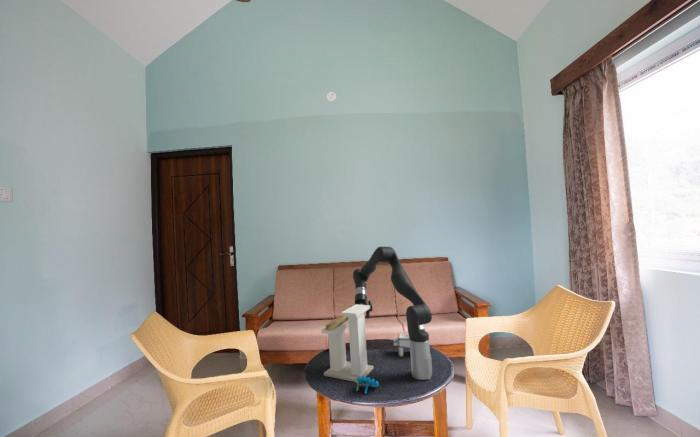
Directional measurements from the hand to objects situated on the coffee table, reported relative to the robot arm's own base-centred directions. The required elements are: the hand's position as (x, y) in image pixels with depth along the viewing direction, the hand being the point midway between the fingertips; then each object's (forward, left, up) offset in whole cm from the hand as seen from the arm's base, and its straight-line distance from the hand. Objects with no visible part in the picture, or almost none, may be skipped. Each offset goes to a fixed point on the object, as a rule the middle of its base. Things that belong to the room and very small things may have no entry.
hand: (360, 319), depth 177 cm
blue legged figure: (-19, +35, -19) cm, 45 cm away
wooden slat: (+3, +18, +3) cm, 19 cm away
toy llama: (-26, -8, -19) cm, 33 cm away
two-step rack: (-3, +23, -19) cm, 30 cm away
